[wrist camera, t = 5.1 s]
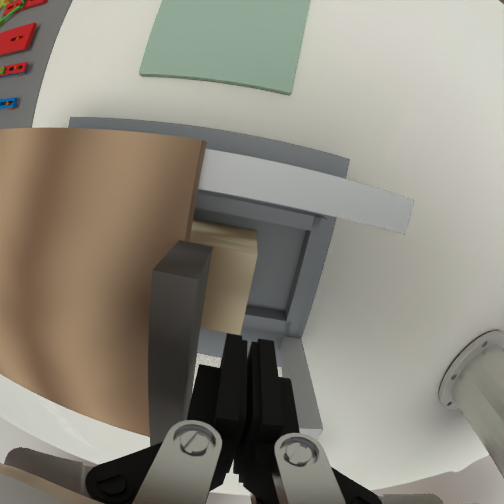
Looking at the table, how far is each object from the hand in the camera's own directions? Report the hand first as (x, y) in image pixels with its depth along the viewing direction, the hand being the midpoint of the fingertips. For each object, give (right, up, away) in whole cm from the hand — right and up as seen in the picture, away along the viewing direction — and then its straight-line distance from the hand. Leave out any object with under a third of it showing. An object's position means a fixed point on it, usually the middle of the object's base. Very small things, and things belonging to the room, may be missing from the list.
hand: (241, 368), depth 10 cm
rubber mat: (-2, +22, +8) cm, 24 cm away
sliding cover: (-9, +2, +2) cm, 10 cm away
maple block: (-2, +4, +12) cm, 12 cm away
